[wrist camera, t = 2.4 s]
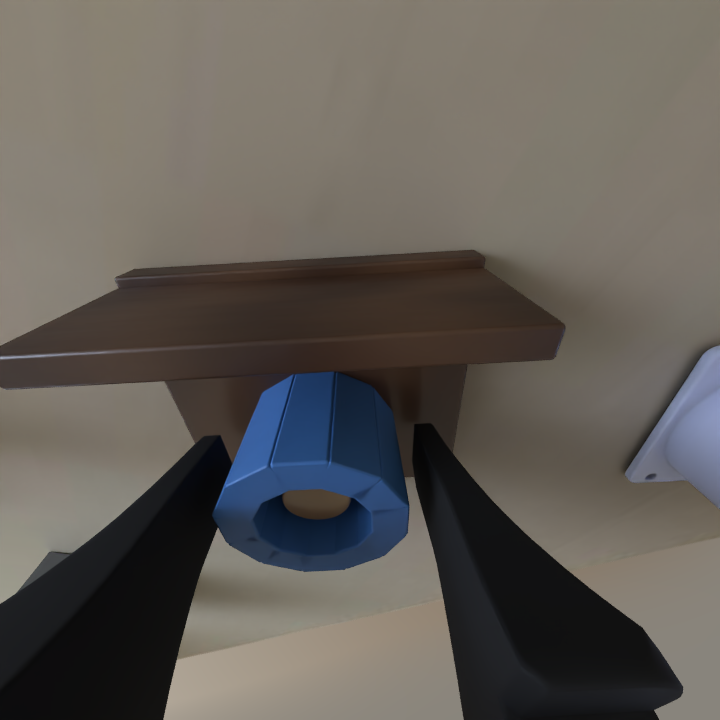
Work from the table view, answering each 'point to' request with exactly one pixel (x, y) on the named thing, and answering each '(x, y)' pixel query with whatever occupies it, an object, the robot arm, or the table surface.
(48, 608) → the robot arm
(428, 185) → the table surface
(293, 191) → the table surface
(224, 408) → the holder
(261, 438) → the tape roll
